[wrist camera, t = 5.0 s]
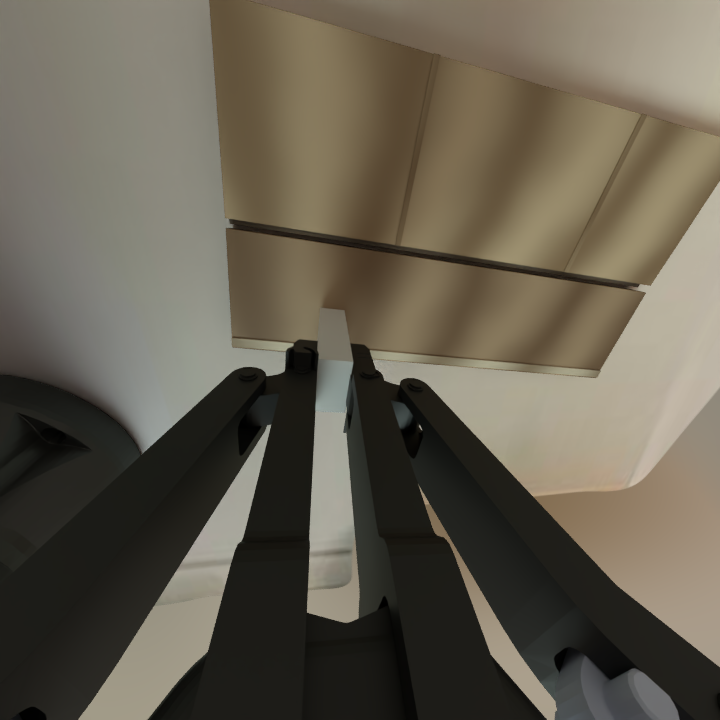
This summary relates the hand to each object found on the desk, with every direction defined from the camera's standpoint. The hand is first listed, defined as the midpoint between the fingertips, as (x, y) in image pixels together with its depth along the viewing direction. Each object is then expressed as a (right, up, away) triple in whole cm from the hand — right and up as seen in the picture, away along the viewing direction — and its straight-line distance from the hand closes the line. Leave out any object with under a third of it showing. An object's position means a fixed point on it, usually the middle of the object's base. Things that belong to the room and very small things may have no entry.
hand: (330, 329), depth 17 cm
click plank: (+8, +1, +2) cm, 8 cm away
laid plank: (+9, +8, -1) cm, 12 cm away
